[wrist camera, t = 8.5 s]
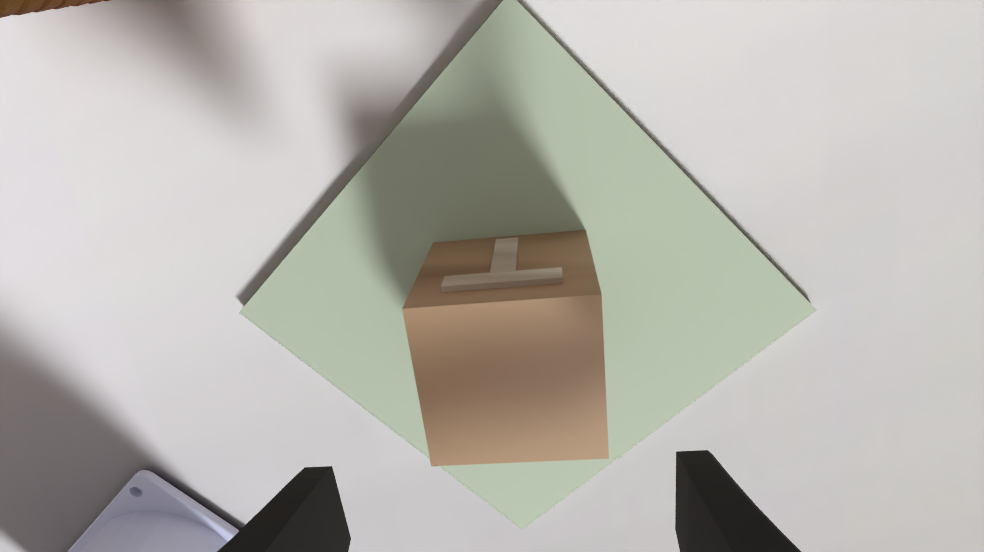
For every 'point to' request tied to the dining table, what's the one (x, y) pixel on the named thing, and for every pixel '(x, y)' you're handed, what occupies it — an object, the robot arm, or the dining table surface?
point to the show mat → (522, 211)
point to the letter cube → (509, 350)
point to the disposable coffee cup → (37, 5)
